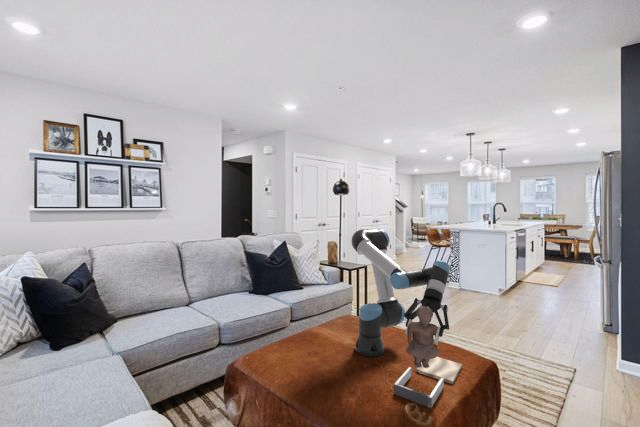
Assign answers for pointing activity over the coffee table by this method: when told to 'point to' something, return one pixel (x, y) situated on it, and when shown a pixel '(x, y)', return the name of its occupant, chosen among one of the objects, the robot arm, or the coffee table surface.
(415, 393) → the grey channel
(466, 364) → the coffee table surface
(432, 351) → the clay figurine
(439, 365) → the cream square slab
